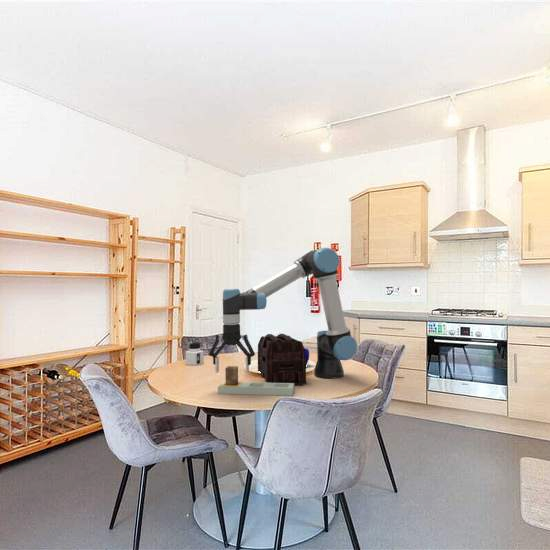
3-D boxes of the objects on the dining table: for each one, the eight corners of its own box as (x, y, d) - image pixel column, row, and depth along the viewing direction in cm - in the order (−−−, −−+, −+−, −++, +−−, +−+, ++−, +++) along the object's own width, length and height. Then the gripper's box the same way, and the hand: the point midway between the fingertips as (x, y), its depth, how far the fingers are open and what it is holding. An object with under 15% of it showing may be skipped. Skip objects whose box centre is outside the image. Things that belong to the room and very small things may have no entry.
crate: (308, 385, 182) (308, 340, 183) (268, 388, 178) (268, 341, 179) (290, 370, 216) (290, 332, 217) (256, 372, 213) (256, 333, 213)
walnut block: (238, 386, 175) (238, 366, 175) (235, 389, 171) (235, 368, 171) (228, 386, 176) (228, 366, 176) (225, 389, 171) (225, 368, 172)
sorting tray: (294, 390, 174) (294, 382, 174) (292, 395, 165) (292, 387, 165) (223, 388, 178) (223, 381, 179) (217, 393, 170) (217, 385, 170)
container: (203, 363, 238) (203, 341, 238) (194, 365, 231) (194, 343, 232) (194, 362, 242) (194, 341, 242) (185, 364, 235) (185, 342, 236)
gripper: (260, 322, 176) (261, 370, 176) (206, 323, 180) (207, 370, 179) (257, 324, 169) (258, 374, 168) (201, 324, 172) (202, 373, 172)
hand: (232, 372), depth 174 cm, fingers open, 13 cm apart
